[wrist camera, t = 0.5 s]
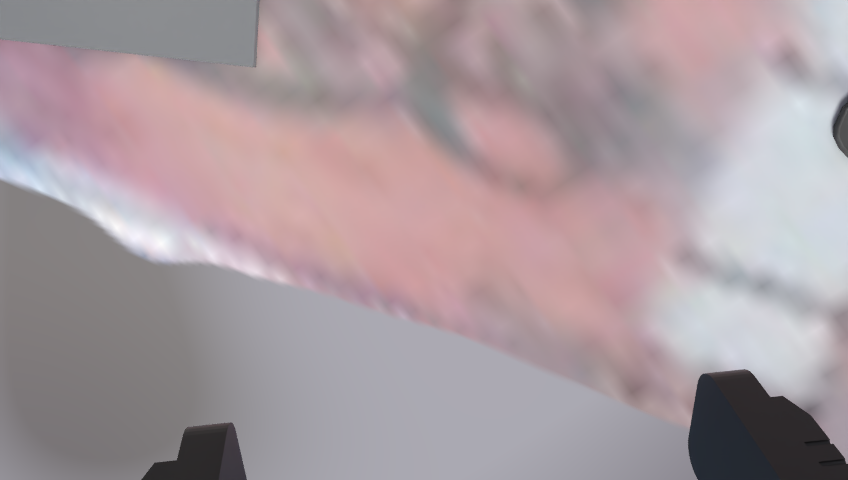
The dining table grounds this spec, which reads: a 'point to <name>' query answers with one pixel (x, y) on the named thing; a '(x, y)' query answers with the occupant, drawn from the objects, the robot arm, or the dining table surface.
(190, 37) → the mat
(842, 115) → the throwing knife
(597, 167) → the dining table surface
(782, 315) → the dining table surface
